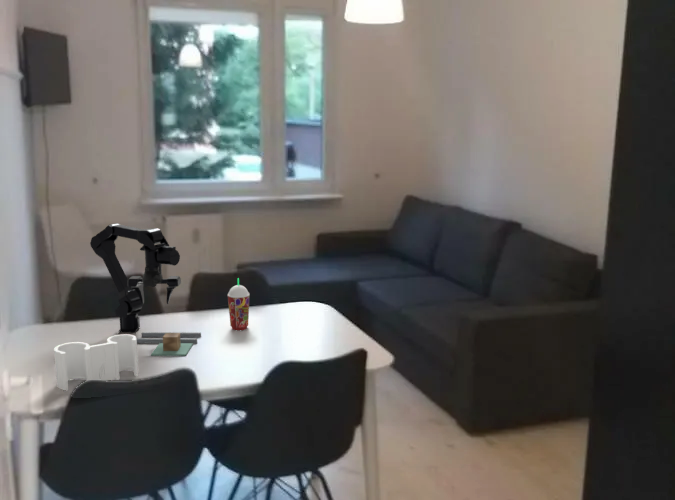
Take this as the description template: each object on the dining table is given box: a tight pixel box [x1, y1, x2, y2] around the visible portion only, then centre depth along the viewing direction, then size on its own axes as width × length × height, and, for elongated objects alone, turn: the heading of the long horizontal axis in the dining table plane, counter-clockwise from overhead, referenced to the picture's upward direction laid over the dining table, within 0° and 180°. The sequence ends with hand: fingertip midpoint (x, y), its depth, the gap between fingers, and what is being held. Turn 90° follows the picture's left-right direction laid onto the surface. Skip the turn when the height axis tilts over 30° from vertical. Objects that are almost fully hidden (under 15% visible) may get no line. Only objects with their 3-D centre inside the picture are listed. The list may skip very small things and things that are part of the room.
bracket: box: [53, 333, 139, 391], centre depth 234 cm, size 25×10×12 cm, turn 124°
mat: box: [150, 343, 194, 357], centre depth 262 cm, size 12×12×1 cm
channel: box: [136, 331, 202, 344], centre depth 274 cm, size 22×8×2 cm, turn 89°
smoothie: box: [227, 277, 250, 332], centre depth 285 cm, size 8×8×20 cm
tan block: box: [162, 333, 181, 351], centre depth 261 cm, size 5×5×5 cm
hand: (155, 303), depth 277 cm, fingers open, 9 cm apart
